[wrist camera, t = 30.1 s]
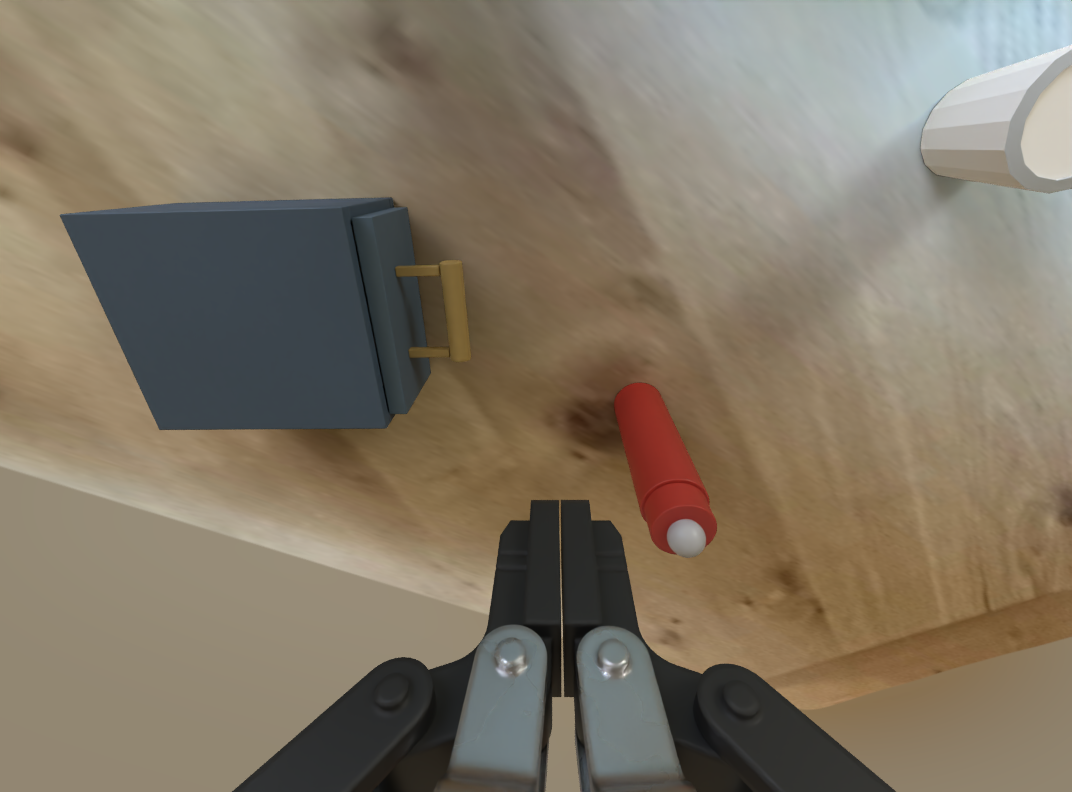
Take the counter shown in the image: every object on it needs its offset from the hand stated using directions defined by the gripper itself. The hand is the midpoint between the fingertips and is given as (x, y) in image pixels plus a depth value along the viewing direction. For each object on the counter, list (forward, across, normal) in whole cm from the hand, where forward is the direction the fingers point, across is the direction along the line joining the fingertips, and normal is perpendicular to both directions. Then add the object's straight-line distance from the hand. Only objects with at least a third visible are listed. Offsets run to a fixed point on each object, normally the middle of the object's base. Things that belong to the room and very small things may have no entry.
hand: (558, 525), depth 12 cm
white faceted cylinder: (+25, -26, -10) cm, 38 cm away
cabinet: (+25, +19, 0) cm, 31 cm away
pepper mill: (+25, -7, +10) cm, 28 cm away
